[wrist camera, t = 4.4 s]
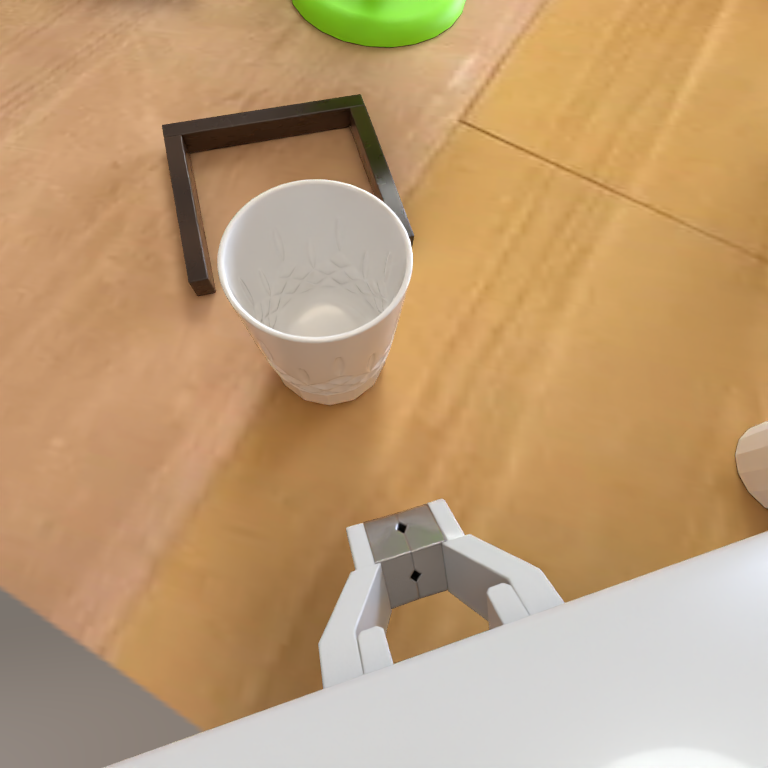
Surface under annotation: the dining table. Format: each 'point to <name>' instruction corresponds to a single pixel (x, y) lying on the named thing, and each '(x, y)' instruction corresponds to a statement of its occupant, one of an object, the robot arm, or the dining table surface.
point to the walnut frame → (260, 128)
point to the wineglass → (381, 19)
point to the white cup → (318, 283)
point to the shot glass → (754, 461)
